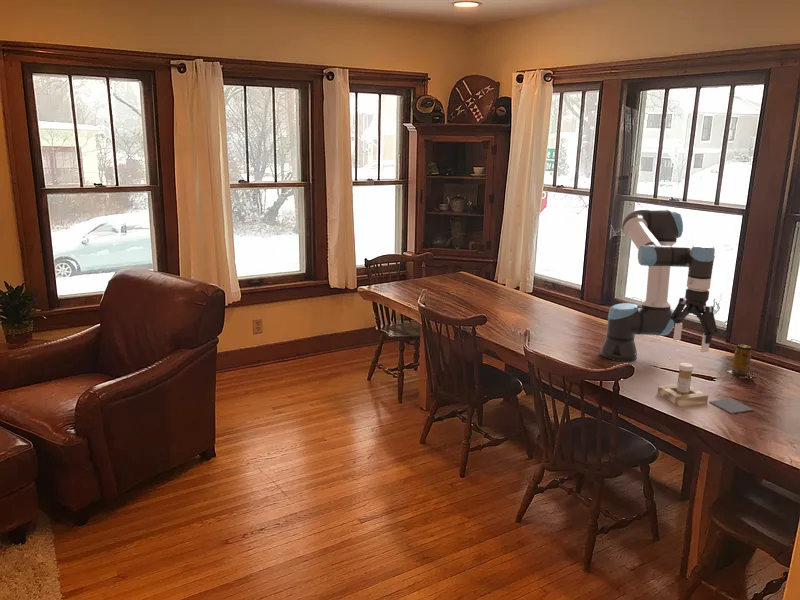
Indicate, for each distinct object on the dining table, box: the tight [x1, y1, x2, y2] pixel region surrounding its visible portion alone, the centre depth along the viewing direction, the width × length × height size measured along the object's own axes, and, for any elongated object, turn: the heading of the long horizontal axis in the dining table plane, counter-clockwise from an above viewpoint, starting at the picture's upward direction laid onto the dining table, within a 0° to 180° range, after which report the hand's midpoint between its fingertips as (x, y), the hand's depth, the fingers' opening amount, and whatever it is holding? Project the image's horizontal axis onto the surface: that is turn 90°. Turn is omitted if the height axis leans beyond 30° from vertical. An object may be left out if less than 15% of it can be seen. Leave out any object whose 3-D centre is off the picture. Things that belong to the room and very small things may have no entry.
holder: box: [657, 383, 709, 408], centre depth 230 cm, size 12×12×3 cm
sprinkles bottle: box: [676, 362, 694, 395], centre depth 228 cm, size 5×5×13 cm
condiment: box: [726, 343, 753, 379], centre depth 253 cm, size 7×8×12 cm
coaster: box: [709, 398, 754, 415], centre depth 223 cm, size 10×10×1 cm
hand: (690, 345), depth 225 cm, fingers open, 13 cm apart
